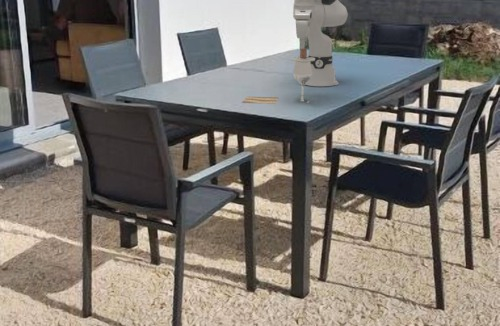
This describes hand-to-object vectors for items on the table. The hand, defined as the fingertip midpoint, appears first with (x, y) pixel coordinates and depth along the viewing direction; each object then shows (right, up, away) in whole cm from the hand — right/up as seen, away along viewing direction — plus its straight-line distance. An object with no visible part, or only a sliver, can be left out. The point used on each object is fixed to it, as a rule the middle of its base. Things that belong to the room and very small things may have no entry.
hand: (303, 47), depth 269 cm
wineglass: (0, -23, +7) cm, 24 cm away
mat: (-18, -22, +9) cm, 29 cm away
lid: (0, -5, +1) cm, 5 cm away
